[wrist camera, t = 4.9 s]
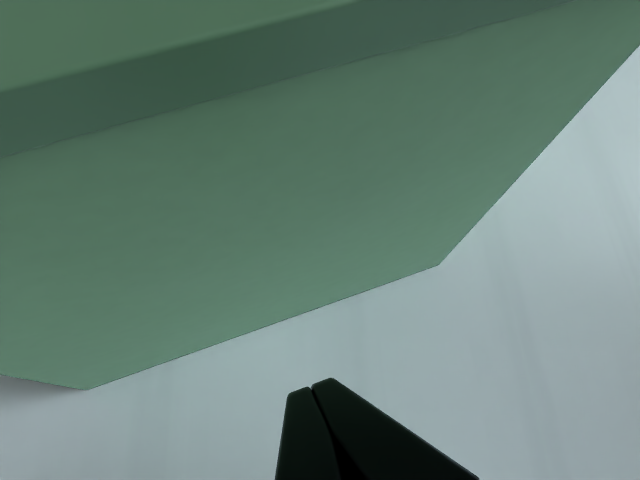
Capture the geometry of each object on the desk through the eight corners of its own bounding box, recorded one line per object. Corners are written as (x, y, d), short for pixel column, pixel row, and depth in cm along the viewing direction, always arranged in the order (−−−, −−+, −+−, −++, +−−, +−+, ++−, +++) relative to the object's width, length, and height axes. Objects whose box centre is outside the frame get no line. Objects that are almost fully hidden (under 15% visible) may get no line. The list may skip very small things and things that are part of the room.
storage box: (451, 270, 18) (856, -127, 5) (77, 404, 15) (-849, 302, 3) (339, 33, 21) (414, -570, 8) (17, 117, 19) (-545, -523, 6)
